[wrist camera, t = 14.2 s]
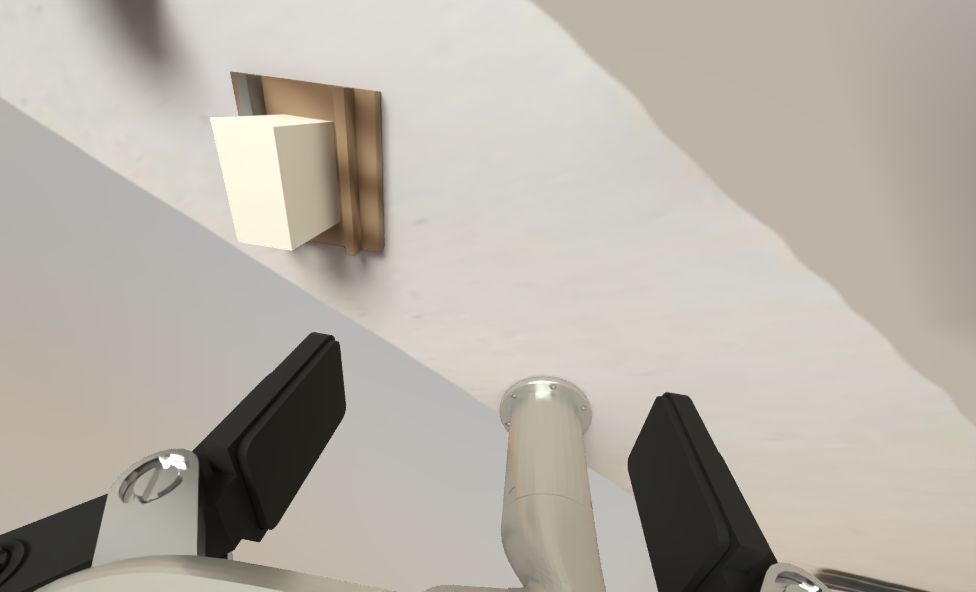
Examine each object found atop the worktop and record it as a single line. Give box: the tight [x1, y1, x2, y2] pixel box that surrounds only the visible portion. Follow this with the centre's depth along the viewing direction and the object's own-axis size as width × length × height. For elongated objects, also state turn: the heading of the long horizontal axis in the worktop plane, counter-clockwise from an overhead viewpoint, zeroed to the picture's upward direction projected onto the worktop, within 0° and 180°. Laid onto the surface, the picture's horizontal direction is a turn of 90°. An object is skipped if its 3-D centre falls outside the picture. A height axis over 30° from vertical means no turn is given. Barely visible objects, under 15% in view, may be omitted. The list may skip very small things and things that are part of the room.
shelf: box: [230, 72, 384, 256], centre depth 37 cm, size 16×14×4 cm
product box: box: [210, 114, 340, 251], centre depth 34 cm, size 5×10×9 cm, turn 173°
